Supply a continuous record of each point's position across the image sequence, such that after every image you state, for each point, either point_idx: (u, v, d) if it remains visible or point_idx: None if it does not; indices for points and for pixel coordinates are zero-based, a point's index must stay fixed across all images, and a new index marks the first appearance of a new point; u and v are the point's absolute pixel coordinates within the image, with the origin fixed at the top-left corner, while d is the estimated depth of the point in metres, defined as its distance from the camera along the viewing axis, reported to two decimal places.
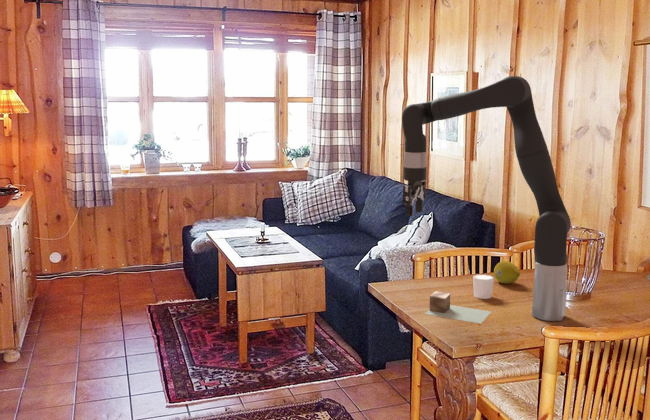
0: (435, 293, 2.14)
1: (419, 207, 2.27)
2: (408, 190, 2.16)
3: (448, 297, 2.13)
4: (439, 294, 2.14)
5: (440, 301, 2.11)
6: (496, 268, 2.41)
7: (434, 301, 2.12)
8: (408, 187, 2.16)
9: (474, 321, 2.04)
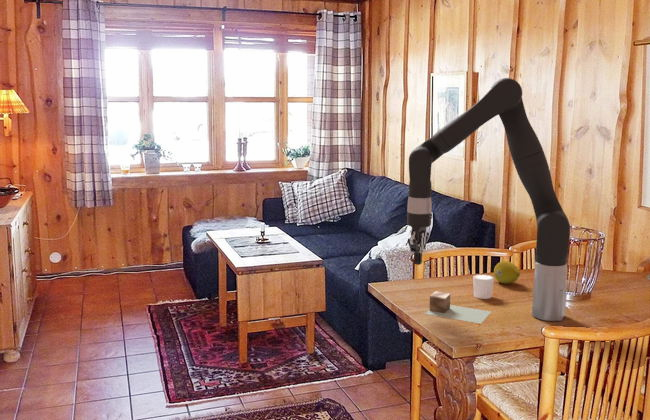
0: (435, 293, 2.14)
1: None
2: (413, 244, 2.09)
3: (448, 297, 2.13)
4: (439, 294, 2.14)
5: (440, 301, 2.11)
6: (496, 268, 2.41)
7: (434, 301, 2.12)
8: (413, 242, 2.08)
9: (474, 321, 2.04)
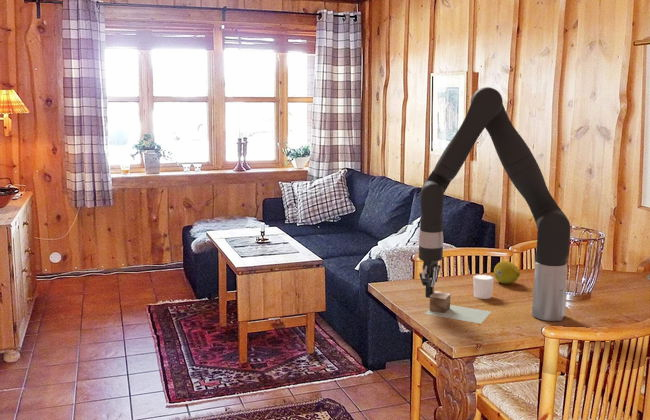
0: (435, 293, 2.14)
1: None
2: (425, 278, 2.09)
3: (448, 297, 2.13)
4: (439, 293, 2.14)
5: (440, 301, 2.11)
6: (496, 268, 2.41)
7: (434, 301, 2.12)
8: (425, 276, 2.08)
9: (474, 321, 2.04)
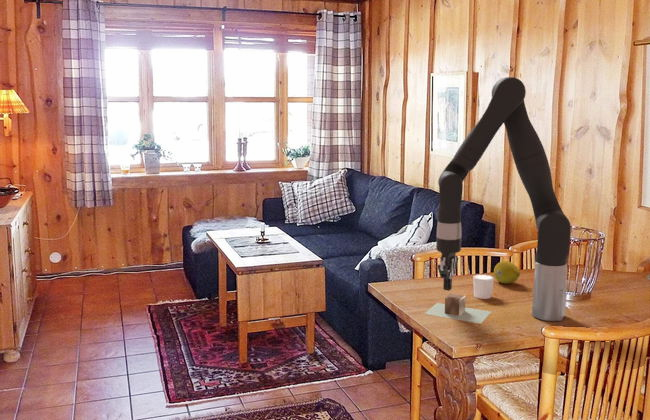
0: (463, 300, 2.10)
1: None
2: (444, 270, 2.05)
3: None
4: (463, 304, 2.10)
5: (455, 310, 2.09)
6: (496, 268, 2.41)
7: (455, 304, 2.09)
8: (443, 268, 2.05)
9: (474, 321, 2.04)
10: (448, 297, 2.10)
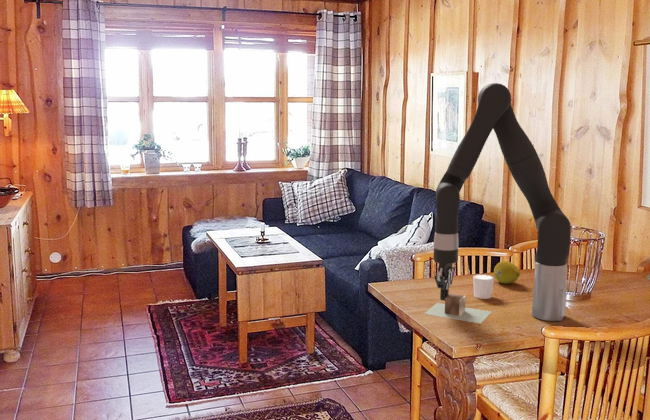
0: (463, 300, 2.10)
1: None
2: (441, 280, 2.06)
3: None
4: (463, 304, 2.10)
5: (455, 310, 2.09)
6: (496, 268, 2.41)
7: (455, 304, 2.09)
8: (440, 278, 2.06)
9: (474, 321, 2.04)
10: (448, 297, 2.10)
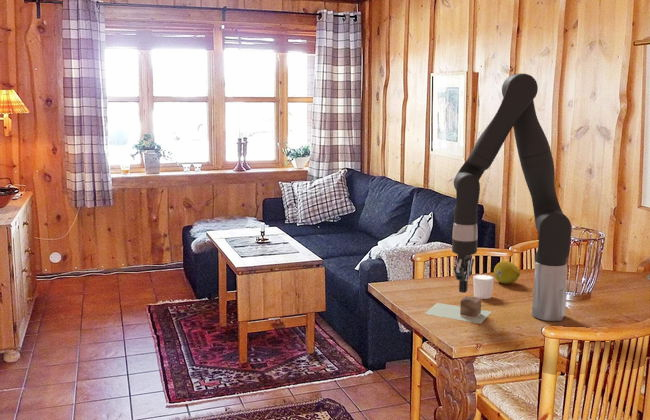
0: None
1: None
2: (460, 272, 2.03)
3: None
4: None
5: (464, 312, 2.07)
6: (496, 268, 2.41)
7: (471, 312, 2.06)
8: (459, 270, 2.02)
9: (474, 321, 2.04)
10: (477, 304, 2.06)
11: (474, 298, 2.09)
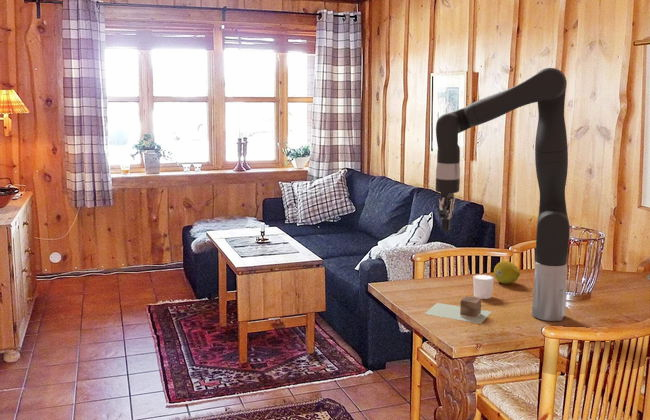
0: None
1: None
2: (443, 209, 2.10)
3: None
4: None
5: (464, 312, 2.07)
6: (496, 268, 2.41)
7: (471, 312, 2.06)
8: (442, 207, 2.09)
9: (474, 321, 2.04)
10: (477, 304, 2.06)
11: (474, 298, 2.09)
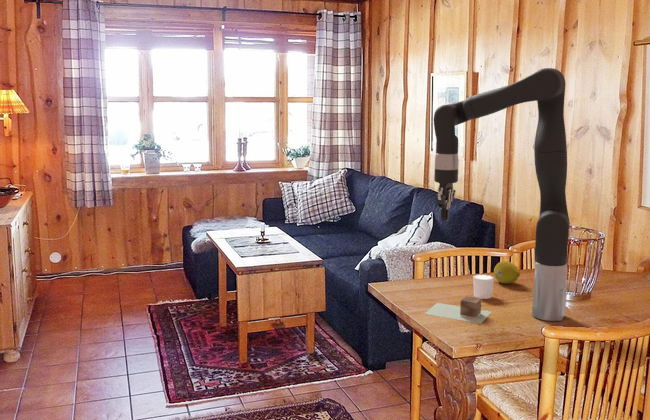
0: None
1: None
2: (441, 199, 2.13)
3: None
4: None
5: (464, 312, 2.07)
6: (496, 268, 2.41)
7: (471, 312, 2.06)
8: (441, 197, 2.13)
9: (474, 321, 2.04)
10: (477, 304, 2.06)
11: (474, 298, 2.09)
